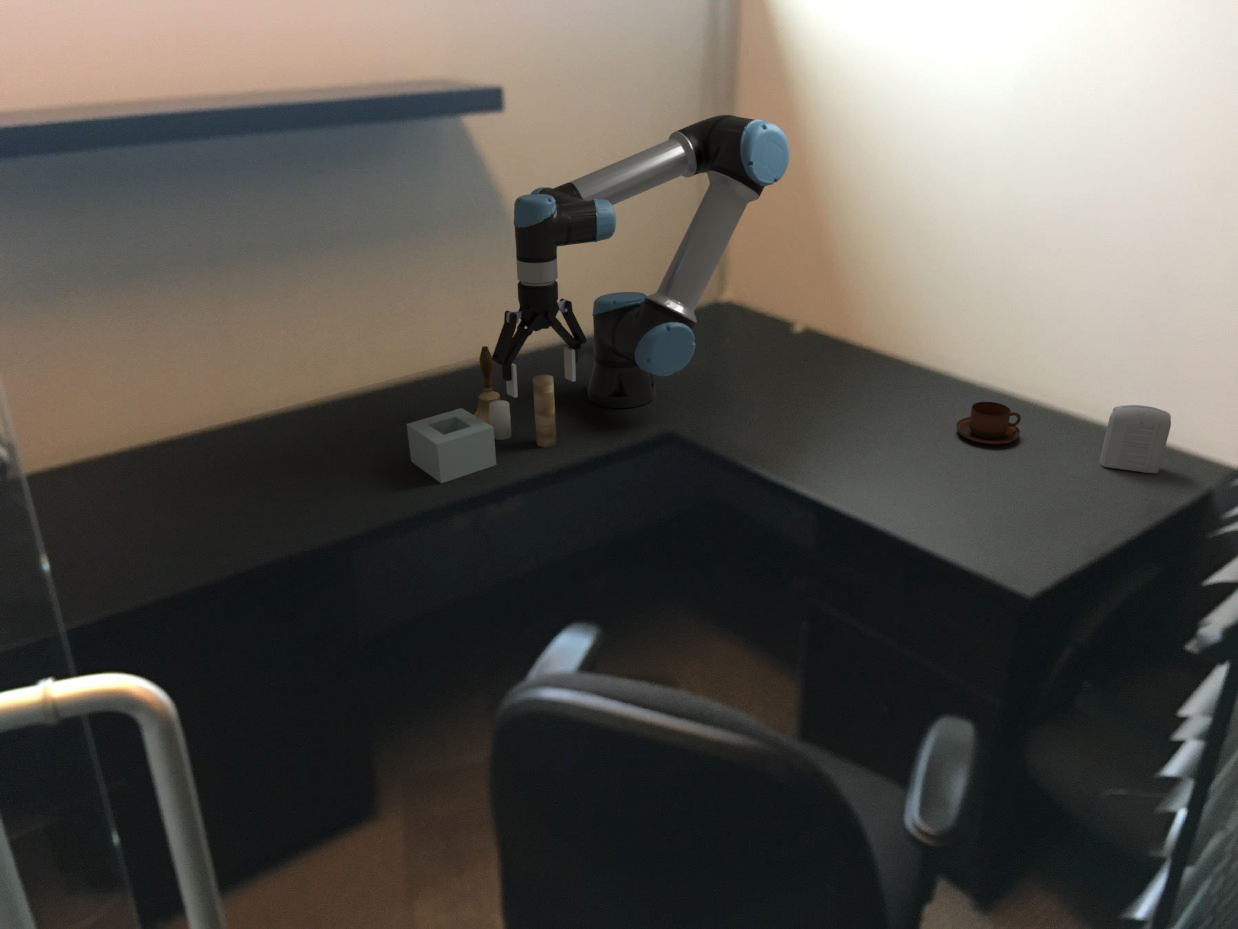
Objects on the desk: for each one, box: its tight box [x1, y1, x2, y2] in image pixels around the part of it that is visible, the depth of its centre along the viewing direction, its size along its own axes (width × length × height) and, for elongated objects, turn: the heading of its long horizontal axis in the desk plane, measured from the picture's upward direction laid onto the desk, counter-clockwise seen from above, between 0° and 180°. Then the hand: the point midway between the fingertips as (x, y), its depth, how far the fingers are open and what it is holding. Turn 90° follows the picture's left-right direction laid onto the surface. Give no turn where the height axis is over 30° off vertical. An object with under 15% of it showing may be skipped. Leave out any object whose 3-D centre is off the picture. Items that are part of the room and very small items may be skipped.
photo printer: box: [1098, 404, 1172, 474], centre depth 184 cm, size 10×4×12 cm, turn 70°
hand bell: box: [473, 345, 512, 425], centre depth 209 cm, size 8×8×16 cm
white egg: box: [489, 399, 512, 441], centre depth 203 cm, size 4×4×7 cm
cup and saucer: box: [956, 401, 1022, 446], centre depth 199 cm, size 12×12×6 cm
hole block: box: [406, 407, 497, 484], centre depth 191 cm, size 12×12×8 cm
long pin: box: [532, 374, 557, 449], centre depth 197 cm, size 4×4×14 cm
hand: (541, 387), depth 195 cm, fingers open, 13 cm apart
